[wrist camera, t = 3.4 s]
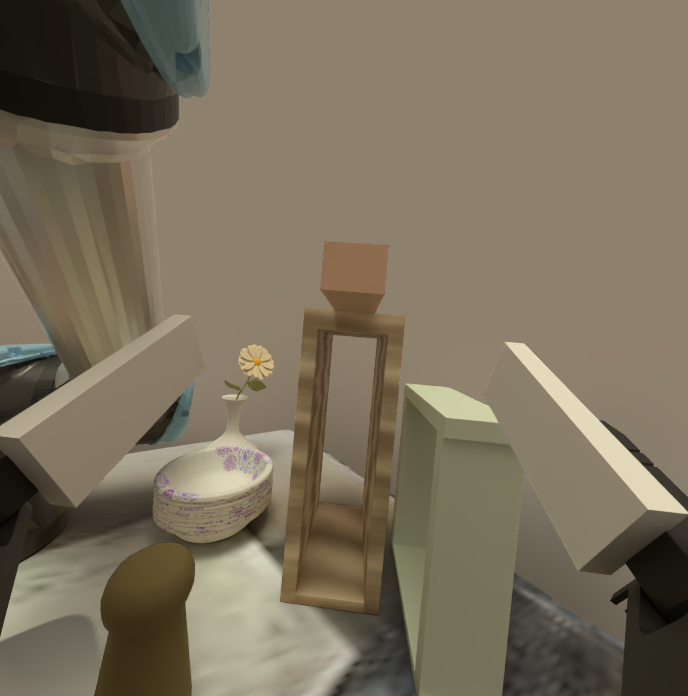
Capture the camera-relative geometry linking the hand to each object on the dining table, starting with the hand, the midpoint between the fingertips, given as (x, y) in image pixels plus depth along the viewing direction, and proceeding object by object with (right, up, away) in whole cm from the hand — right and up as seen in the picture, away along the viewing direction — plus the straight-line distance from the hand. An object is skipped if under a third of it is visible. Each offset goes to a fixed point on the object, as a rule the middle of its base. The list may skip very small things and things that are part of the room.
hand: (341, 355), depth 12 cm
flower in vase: (-23, -24, +45) cm, 56 cm away
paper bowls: (-18, -25, +27) cm, 41 cm away
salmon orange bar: (+1, +4, +18) cm, 18 cm away
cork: (-14, -25, +7) cm, 30 cm away
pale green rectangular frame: (+9, -27, +17) cm, 33 cm away
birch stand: (-1, -26, +23) cm, 35 cm away
